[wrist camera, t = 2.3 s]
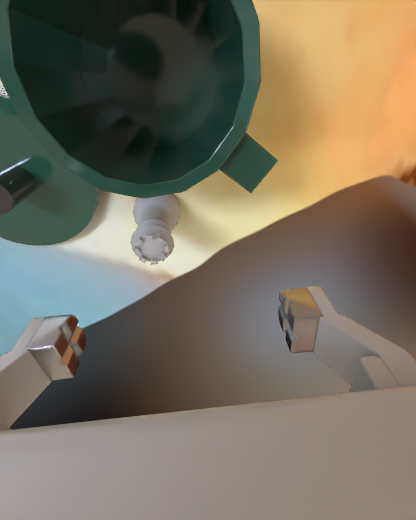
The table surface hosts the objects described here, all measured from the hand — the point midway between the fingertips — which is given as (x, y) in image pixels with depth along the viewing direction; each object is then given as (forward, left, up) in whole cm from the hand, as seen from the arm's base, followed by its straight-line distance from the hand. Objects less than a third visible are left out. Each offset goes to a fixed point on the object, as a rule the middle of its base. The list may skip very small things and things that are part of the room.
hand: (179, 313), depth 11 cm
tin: (+6, +6, -18) cm, 19 cm away
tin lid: (-7, +11, -17) cm, 22 cm away
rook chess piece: (-3, 0, -18) cm, 18 cm away
